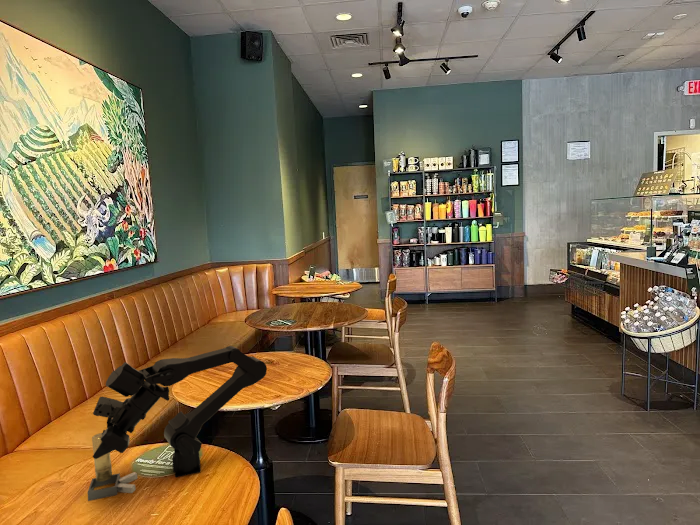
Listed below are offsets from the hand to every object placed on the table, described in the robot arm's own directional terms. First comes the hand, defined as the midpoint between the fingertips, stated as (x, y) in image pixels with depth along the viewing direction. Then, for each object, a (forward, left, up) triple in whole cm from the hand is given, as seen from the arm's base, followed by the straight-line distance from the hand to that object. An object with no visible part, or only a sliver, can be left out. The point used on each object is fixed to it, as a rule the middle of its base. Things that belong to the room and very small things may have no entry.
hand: (95, 453), depth 114 cm
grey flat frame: (-3, 0, -10) cm, 11 cm away
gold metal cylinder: (-1, 0, -7) cm, 7 cm away
